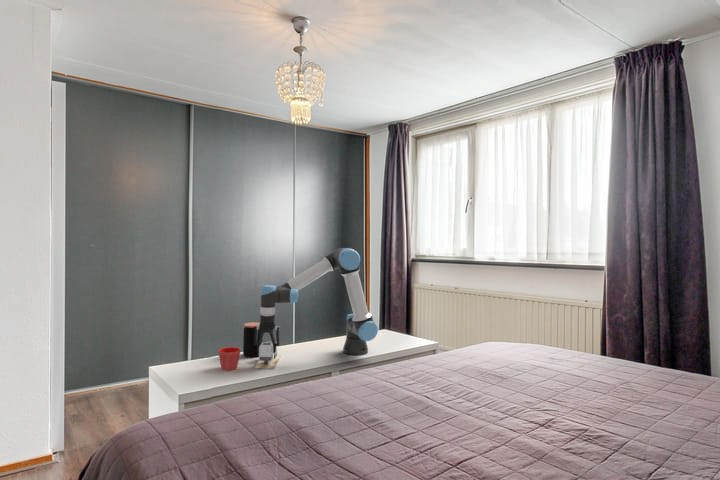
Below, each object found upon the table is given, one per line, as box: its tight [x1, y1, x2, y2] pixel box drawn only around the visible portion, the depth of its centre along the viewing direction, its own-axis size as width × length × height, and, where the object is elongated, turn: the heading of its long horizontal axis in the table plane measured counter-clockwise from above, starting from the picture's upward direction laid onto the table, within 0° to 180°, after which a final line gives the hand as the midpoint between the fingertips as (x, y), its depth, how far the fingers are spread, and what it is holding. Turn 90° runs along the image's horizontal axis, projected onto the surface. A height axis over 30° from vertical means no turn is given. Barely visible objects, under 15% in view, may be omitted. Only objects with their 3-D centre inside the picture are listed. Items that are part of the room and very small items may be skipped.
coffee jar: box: [242, 321, 264, 359], centre depth 243 cm, size 11×11×18 cm
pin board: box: [254, 354, 282, 370], centre depth 230 cm, size 10×20×7 cm, turn 1°
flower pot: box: [218, 346, 241, 372], centre depth 218 cm, size 11×11×10 cm
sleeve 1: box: [259, 342, 273, 361], centre depth 224 cm, size 6×6×8 cm
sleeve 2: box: [265, 340, 278, 359], centre depth 236 cm, size 6×6×8 cm
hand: (266, 358), depth 224 cm, fingers closed on sleeve 1, 6 cm apart
